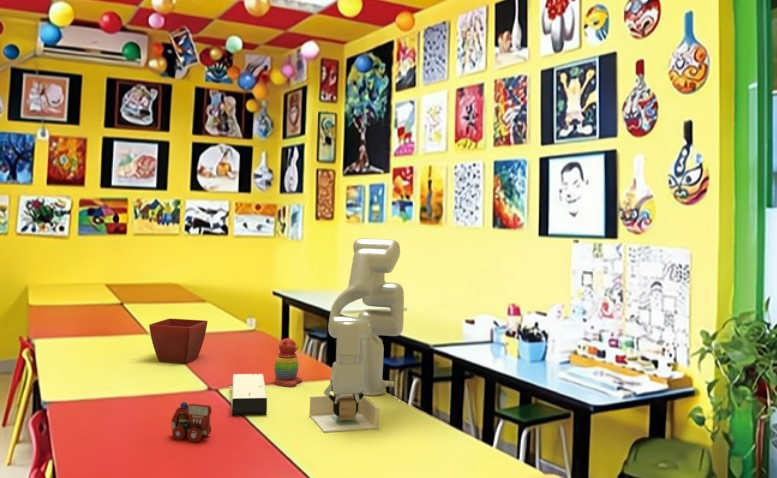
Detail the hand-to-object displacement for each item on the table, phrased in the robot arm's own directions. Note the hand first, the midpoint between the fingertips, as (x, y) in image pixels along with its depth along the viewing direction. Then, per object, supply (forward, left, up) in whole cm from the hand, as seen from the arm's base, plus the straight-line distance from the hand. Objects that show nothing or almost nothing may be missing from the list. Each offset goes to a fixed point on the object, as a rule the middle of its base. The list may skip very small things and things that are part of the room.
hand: (345, 413), depth 219 cm
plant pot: (+45, -104, -3) cm, 113 cm away
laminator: (+27, -31, -3) cm, 41 cm away
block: (0, 0, -1) cm, 1 cm away
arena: (0, -1, -3) cm, 3 cm away
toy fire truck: (+48, +3, -3) cm, 49 cm away
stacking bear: (+7, -54, -3) cm, 54 cm away
